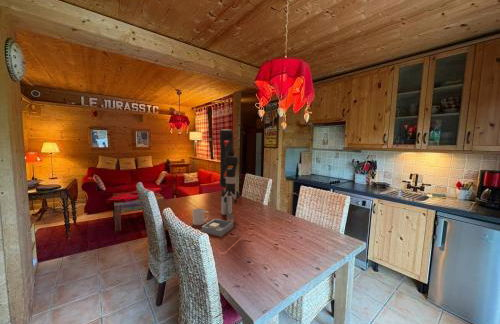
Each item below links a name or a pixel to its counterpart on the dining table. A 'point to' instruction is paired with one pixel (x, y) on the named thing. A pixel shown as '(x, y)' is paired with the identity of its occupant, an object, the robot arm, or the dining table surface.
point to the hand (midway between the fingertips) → (230, 203)
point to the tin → (230, 218)
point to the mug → (198, 216)
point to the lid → (214, 224)
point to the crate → (223, 227)
